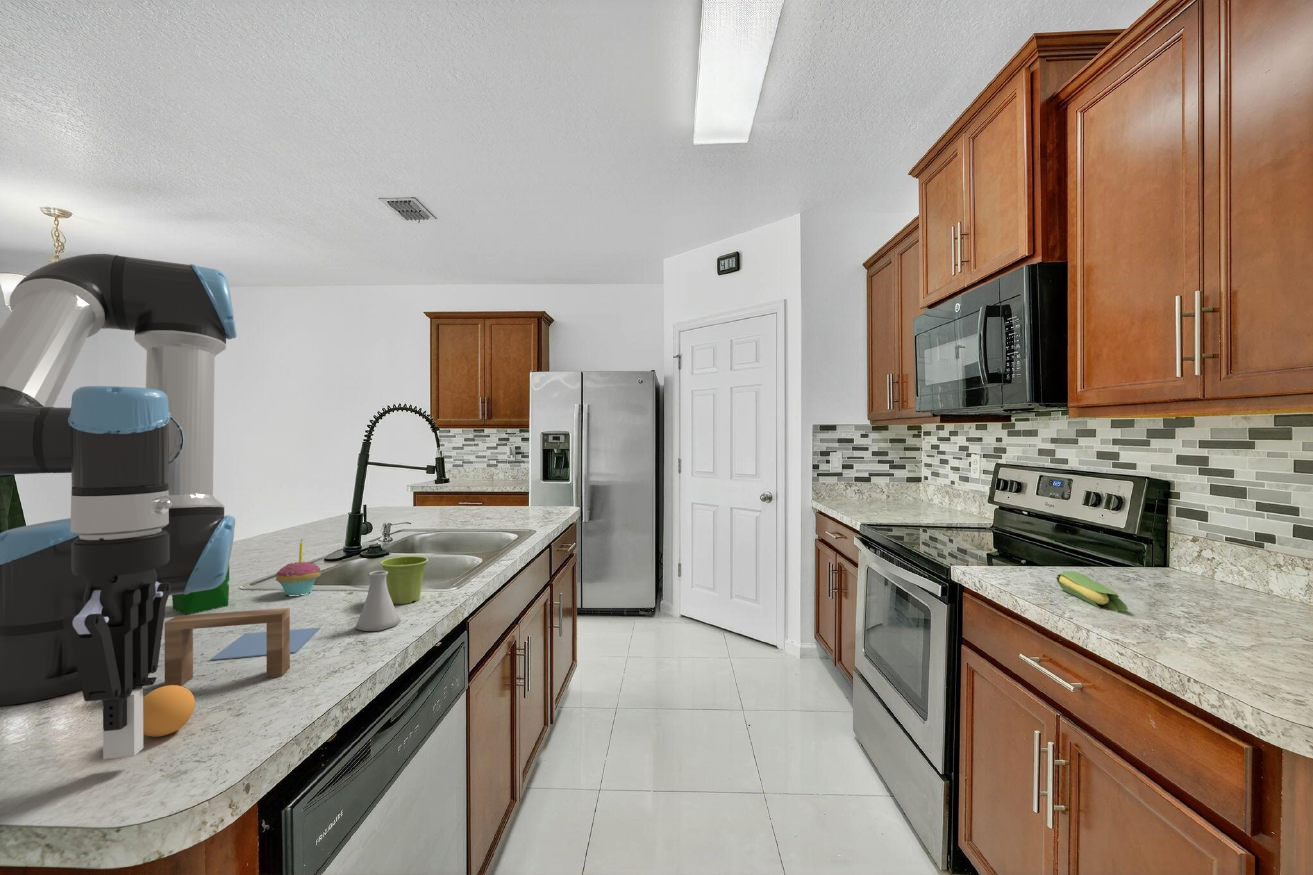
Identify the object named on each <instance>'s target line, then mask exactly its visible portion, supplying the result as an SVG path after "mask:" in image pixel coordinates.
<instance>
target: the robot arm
mask: <svg viewBox="0 0 1313 875" xmlns="http://www.w3.org/2000/svg"><path fill="white" fill-rule="evenodd" d="M232 302H233V301H232V297H231V292H230V286H229V281H228V277H227V276H226V275H225V274H224V273H223V272H222V271H221V270H219V269H215V268H210V267H205V266H204V267H203V266H200V265H198V266H197V265H195V264H193V263H190V264H184V263H178V262H177V263H176V262H170V261H169V262H168V261H162V260H154V259H146V258H140V257H139V258H138V257H132V256H131V257H130V256H123V255H118V254H112V253H111V254H109V253H89V254H81V255H80V254H79V255H75V256H70V257H66V258H63V259H60V260H56V261H54V262H50V263H49V264H47V265H43V266H42V267H40V268H39V267H38V269H36V270H34V271H32V272H31V273H29V274H27V275H26V276H25V277H23V278H22V280H21V281H19V283H18V284H17V285H16V286H15V288H14V289H13V291H12V292H11V293H10V296H9V307H10V311H11V312H10V313H9V315H8V316H7V318H6V319H5V321H4V322H3V324H2V325H1V327H0V476H7V475H34V474H71V475H70V476H71V493H70V494H71V495H70V517H69V518H63V519H56V520H50V521H45V522H40V523H35V524H29V525H24V526H19V527H14V528H11V529H8V530H5V531H2V532H0V706H2V707H3V706H10V705H11V706H12V705H18V704H19V705H20V704H25V703H32V702H37V701H43V700H47V699H51V698H55V697H59V696H62V695H67V694H70V693H74V692H77V691H81V692H82V696H83V700H84V702H86V703H88V702H95V701H101V703H102V743H103V745H102V748H103V749H102V750H103V751H102V754H103V756H102V757H103V758H102V759H103V760H108V759H110V760H111V759H117V758H126V757H133V756H134V757H135V756H136V755H137V754H138V753H139V752H140V751H141V750H143V749H144V734H143V698H144V688H143V687H148V686H154V684H155V682H156V680H157V677H156V676H153V677H149V674H155V673H156V672H157V670H158V667H159V661H160V660H159V659H160V655H161V654H160V653H161V647H162V646H161V644H162V638H163V632H164V631H163V630H164V624H165V622H164V621H165V615H166V606H167V602H168V599H169V596H172V595H176V594H184V595H185V594H189V593H191V592H197V591H203V590H210V589H214V588H216V587H218V586H219V585H221V584H222V583H223V581H224V579H225V577H226V574H227V570H228V566H229V567H230V560H231V555H232V550H233V545H234V544H233V543H234V537H235V526H236V518H235V517H234V516H231V515H229V514H228V515H226V514H225V505H224V504H223V503H221V502H220V501H219V500H218V499H217V498H215V496H214V448H215V447H214V441H215V440H214V439H215V438H214V436H215V435H214V434H215V432H214V431H215V429H214V428H215V422H214V421H215V362H216V361H215V358H216V356H217V355H219V354H220V353H222V352H224V351H225V350H226V348H227V340H232V339H235V338H237V336H238V335H237V329H236V322H235V321H236V320H235V316H234V310H233V309H234V308H233V303H232ZM101 329H106V330H107V329H108V330H109V329H111V330H112V329H113V330H122V331H133V332H134V337H133V338H134V342H136V343H137V344H138V345H140V347H142V348H143V349H144V350H145V351H146V367H145V368H146V370H145V387H136V386H115V385H113V386H111V385H110V386H109V385H104V386H103V385H90V386H89V385H88V386H87V385H86V386H81V387H79V388H77V389H75V390H74V391H73V393H72V394H71V406H70V407H55V404H56V401H57V399H58V397H59V395H60V393H61V391H62V389H63V387H64V385H65V383H66V381H67V379H68V377H69V374H70V372H71V370H72V368H73V366H74V365H75V363H76V361H77V358H78V356H79V354H80V352H81V351H82V348H83V346H84V344H85V342H86V339H87V338H90V337H92V336H93V335H95V334H97V333H98V332H99V331H100V330H101Z"/></svg>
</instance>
